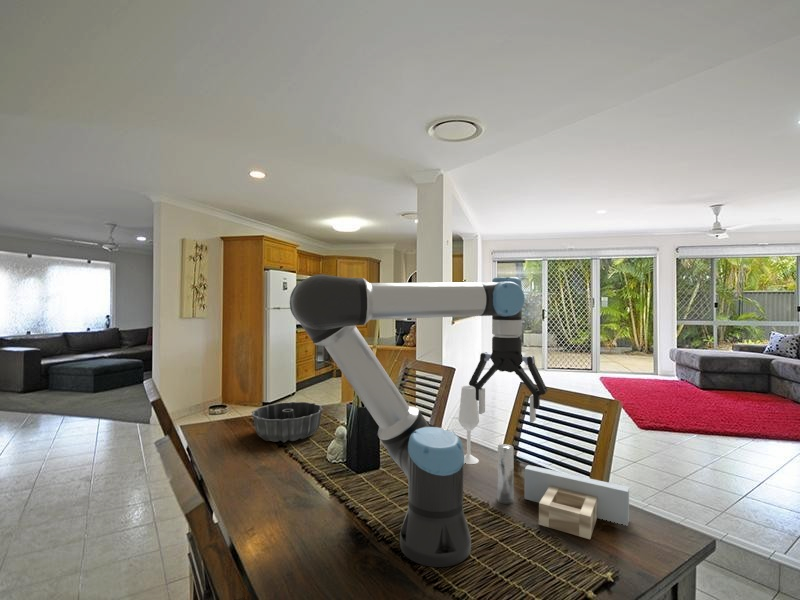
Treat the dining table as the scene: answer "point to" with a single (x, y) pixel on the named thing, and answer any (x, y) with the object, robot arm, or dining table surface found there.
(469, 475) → the dining table surface
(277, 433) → the bundt pan
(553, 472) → the wall
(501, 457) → the metal peg
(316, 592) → the dining table surface
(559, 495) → the square wooden frame
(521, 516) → the dining table surface
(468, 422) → the champagne flute
